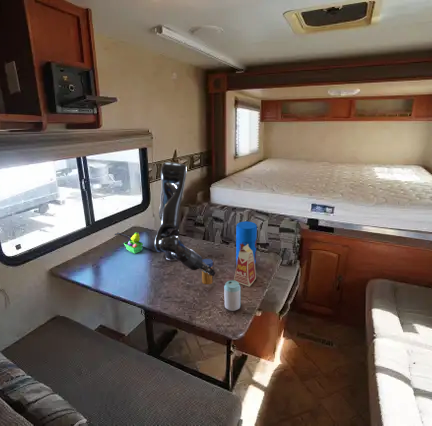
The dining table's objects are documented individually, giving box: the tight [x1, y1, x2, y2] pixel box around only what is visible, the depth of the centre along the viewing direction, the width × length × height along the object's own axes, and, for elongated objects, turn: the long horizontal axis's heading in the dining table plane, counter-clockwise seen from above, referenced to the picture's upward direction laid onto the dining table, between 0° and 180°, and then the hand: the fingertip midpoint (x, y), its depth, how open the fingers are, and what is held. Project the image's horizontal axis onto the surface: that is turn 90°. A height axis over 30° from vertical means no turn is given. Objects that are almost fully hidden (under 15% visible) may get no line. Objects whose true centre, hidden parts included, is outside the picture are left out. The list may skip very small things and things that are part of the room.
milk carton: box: [233, 244, 257, 287], centre depth 143 cm, size 9×9×20 cm
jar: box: [201, 266, 214, 285], centre depth 137 cm, size 5×5×11 cm
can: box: [223, 279, 241, 312], centre depth 124 cm, size 7×7×12 cm
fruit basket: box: [123, 232, 144, 255], centre depth 180 cm, size 11×9×11 cm
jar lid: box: [202, 258, 214, 268], centre depth 135 cm, size 6×6×2 cm
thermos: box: [235, 221, 258, 266], centre depth 154 cm, size 11×11×25 cm
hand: (209, 271), depth 138 cm, fingers closed on jar, 5 cm apart
